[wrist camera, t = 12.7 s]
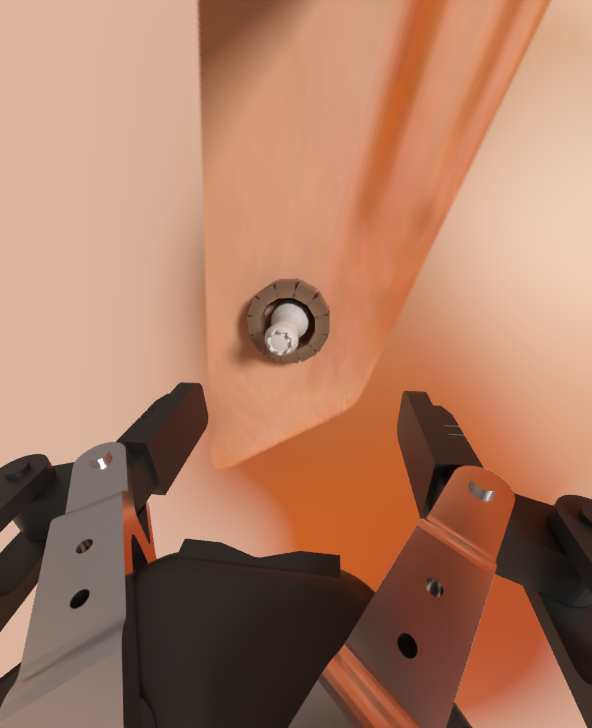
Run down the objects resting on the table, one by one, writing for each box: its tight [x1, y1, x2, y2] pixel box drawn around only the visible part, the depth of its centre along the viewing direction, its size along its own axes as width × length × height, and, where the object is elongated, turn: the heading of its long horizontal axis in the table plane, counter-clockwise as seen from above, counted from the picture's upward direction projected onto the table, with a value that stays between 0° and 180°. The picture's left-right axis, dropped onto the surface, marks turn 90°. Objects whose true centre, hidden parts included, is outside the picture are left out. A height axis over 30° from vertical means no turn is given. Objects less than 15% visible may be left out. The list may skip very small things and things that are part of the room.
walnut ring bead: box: [247, 279, 329, 363], centre depth 32 cm, size 9×9×2 cm
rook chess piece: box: [265, 300, 310, 356], centre depth 30 cm, size 4×4×8 cm
